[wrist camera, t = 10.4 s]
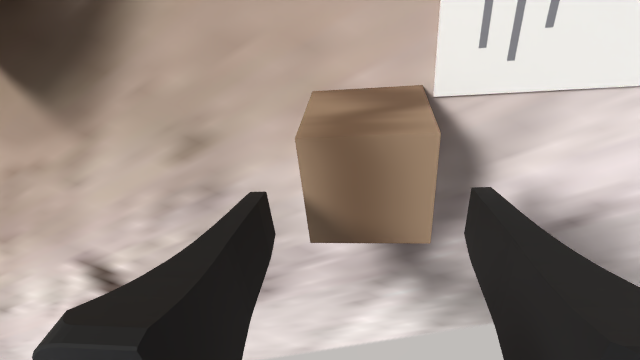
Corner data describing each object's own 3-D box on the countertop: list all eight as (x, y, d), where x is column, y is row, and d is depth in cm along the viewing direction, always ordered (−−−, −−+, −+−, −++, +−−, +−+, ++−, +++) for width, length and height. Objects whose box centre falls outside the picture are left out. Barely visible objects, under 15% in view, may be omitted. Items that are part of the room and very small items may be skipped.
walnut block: (422, 84, 16) (440, 133, 12) (416, 177, 19) (430, 243, 15) (312, 90, 17) (295, 138, 13) (322, 179, 20) (310, 242, 15)
